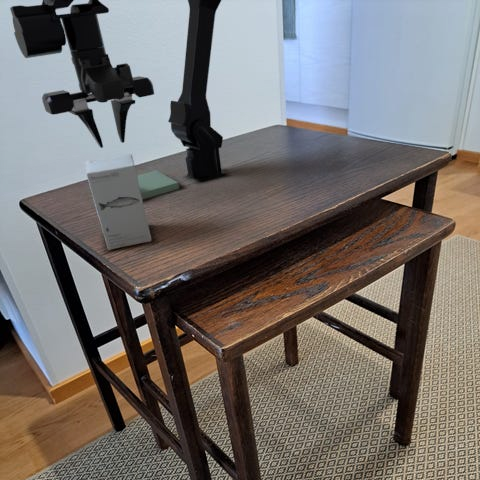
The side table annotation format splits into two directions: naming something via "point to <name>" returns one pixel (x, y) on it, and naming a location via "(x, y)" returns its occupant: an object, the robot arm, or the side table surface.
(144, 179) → the scale
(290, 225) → the side table surface
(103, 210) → the white packaging box
